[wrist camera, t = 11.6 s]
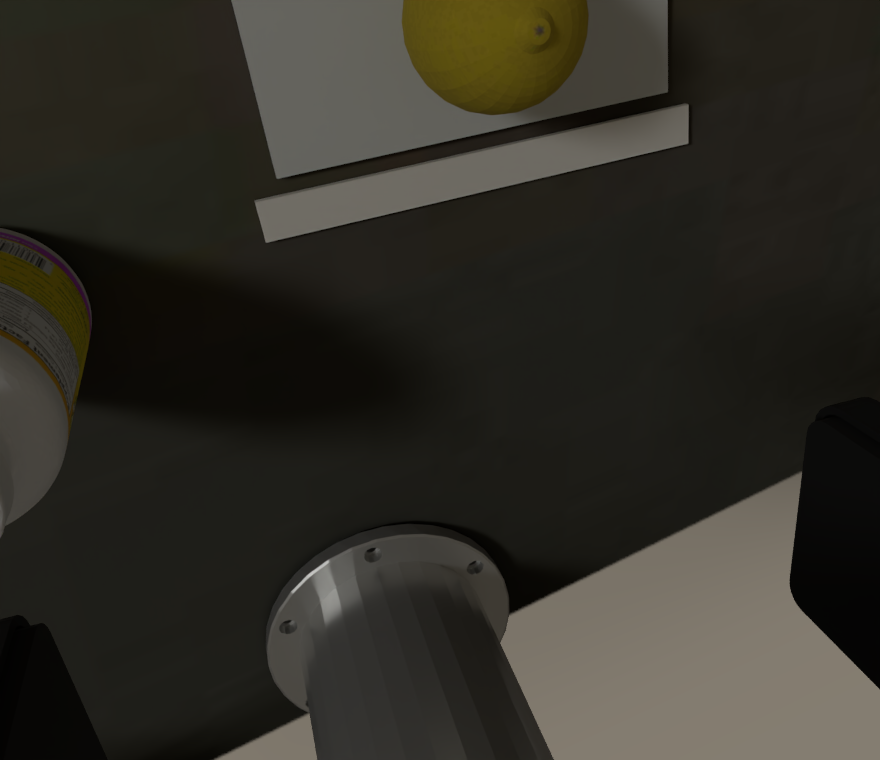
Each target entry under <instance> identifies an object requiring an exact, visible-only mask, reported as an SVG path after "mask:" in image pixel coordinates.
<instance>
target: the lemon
mask: <svg viewBox="0 0 880 760" xmlns="http://www.w3.org/2000/svg"><path fill="white" fill-rule="evenodd" d="M588 18H589V13H588V6H587V0H403V12H402V28H403V35H404V43H405V46H406V49H407V51H408V54H409V57H410V59H411V62H412V65H413V67H414V68H415V70H416V71H417V72H418V74H419V75H420V77H421V78H422V80H423V81H424V82H425V84H426V85H427V86H428V87H429V88H430V89H431V90H433V91H434V92H435V93H436V94H437V95H438V96H440V97H441V98H442V99H443V100H445V101H446V102H448V103H450V104H452V105H454V106H456V107H459V108H461V109H463V110H465V111H468V112H473V113H480V114H486V115H500V114H508V113H516V112H520V111H522V110H525V109H527V108H530V107H532V106H535V105H537V104H539V103H541V102H543V101H544V100H545V99H547V98H548V97H549V96H551V95H552V94H553V93H555V92H556V91H557V90H558V89H559V88H560V87H561V86H562V85H563V83H564V82H565V81H566V80H567V79H568V77H569V76H570V75H571V74H572V72H573V70H574V68H575V67H576V65H577V63H578V61H579V59H580V57H581V55H582V52H583V48H584V45H585V42H586V38H587V32H588Z"/></svg>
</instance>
